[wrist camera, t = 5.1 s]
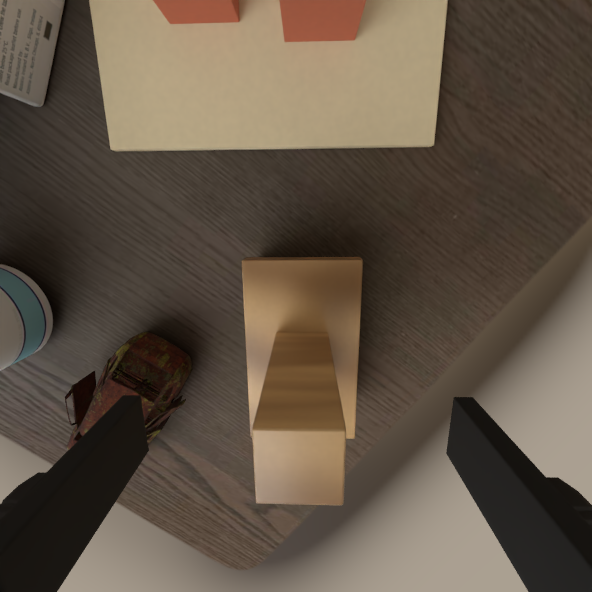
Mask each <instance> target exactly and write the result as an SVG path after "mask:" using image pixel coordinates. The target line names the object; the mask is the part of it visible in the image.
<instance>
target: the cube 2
mask: <svg viewBox="0 0 592 592" xmlns="http://www.w3.org/2000/svg"><path fill="white" fill-rule="evenodd" d="M279 2H280V10H281V18H282V26H283V34H284V41H285V42H310V41H351V40H355V38H356V35H357V31H358V28H359V24H360V21H361V17H362V14H363V10H364V7H365V3H366V0H279Z"/></svg>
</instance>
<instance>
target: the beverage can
mask: <svg viewBox="0 0 592 592" xmlns="http://www.w3.org/2000/svg"><path fill="white" fill-rule="evenodd" d="M52 328H53V315H52V310H51V307H50V304H49V302H48V299H47V297H46V296H45V294H44V293H43V291H42V290H41V289H40V287H39V286H38V285H37V284H36V283H35V282H34V281H33V280H32V279H31V278H29V277H28V276H27V275H25V274H24V273H22V272H20V271H19V270H17V269H15V268H12V267H9V266H6V265H2V264H0V371H1V370H3V369H5V368H7V367H8V366H10V365H12V364H14V363H16V362H18V361H20V360H22V359H24V358H26V357H28V356H30V355H32V354H33V353H35V352H37V351H39V350H40V349H41V348H42V347H43V346H44V345H45V344H46V343H47V341H48V339H49V337H50V335H51V332H52Z"/></svg>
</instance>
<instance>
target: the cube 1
mask: <svg viewBox="0 0 592 592" xmlns="http://www.w3.org/2000/svg"><path fill="white" fill-rule="evenodd" d="M153 1H154V3H155V4H156V5H157V7H158V8H159V9H160V11H161V12H162V14H163V15H164V16H165V18H166V19H167V21H168V22H169V23H170V24H194V23H232V22H239V21H240V18H239V0H153Z"/></svg>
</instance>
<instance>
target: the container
mask: <svg viewBox="0 0 592 592" xmlns="http://www.w3.org/2000/svg"><path fill="white" fill-rule="evenodd" d="M64 3H65V0H0V93H2V94H4V95H7V96H9V97H12V98H14V99H17V100H19V101H22V102H25V103H27V104H30V105H32V106H35V107H41V106H43V104H44V100H45V96H46V91H47V86H48V81H49V76H50V71H51V66H52V62H53V57H54V52H55V47H56V42H57V37H58V32H59V27H60V23H61V18H62V13H63V8H64Z"/></svg>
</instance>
